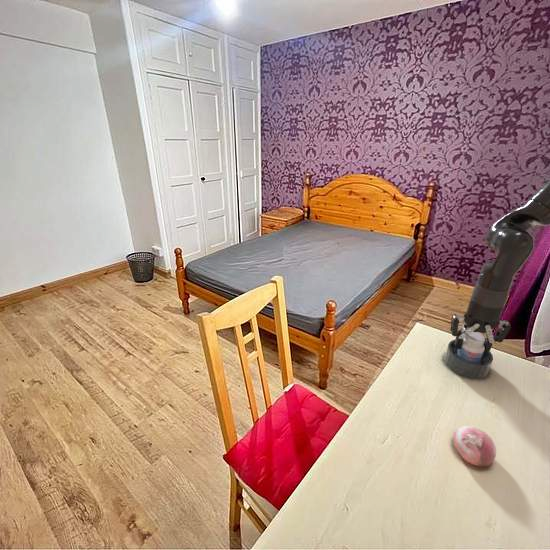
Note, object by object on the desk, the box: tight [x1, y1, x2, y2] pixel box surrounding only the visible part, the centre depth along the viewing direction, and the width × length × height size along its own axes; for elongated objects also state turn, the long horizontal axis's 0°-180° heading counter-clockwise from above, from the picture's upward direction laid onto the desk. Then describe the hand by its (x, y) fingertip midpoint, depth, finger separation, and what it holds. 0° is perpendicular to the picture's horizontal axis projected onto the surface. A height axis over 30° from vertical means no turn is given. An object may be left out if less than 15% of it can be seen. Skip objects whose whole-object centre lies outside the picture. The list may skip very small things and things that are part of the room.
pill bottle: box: [455, 332, 486, 364], centre depth 88 cm, size 6×6×11 cm
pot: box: [444, 339, 494, 380], centre depth 90 cm, size 11×11×6 cm
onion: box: [452, 425, 497, 467], centre depth 66 cm, size 8×8×7 cm
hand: (470, 348), depth 88 cm, fingers closed on pill bottle, 6 cm apart
